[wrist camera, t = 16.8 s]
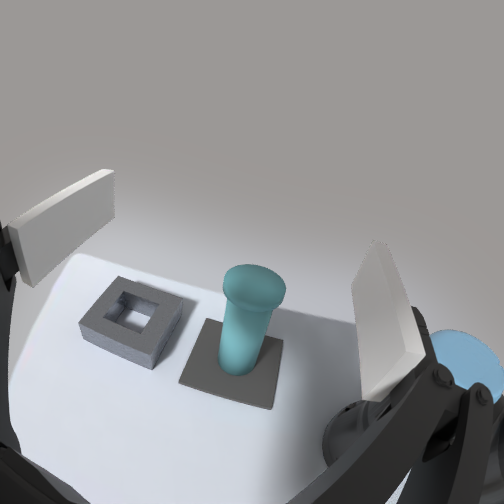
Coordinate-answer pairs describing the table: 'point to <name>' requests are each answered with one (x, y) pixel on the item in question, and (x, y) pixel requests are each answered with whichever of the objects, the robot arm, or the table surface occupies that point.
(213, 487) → the table surface
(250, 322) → the teal capped cylinder
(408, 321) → the robot arm
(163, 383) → the table surface
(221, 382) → the mat
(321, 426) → the table surface
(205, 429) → the table surface
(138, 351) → the housing
